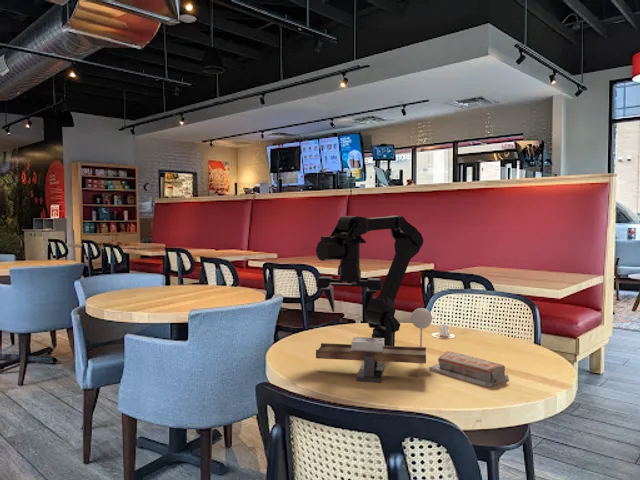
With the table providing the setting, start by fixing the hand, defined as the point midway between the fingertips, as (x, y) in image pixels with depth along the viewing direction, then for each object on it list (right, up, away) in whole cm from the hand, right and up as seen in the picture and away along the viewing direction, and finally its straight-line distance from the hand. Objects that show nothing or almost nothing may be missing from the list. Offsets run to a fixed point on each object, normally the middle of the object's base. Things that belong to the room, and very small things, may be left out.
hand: (349, 312), depth 146 cm
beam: (+5, -9, -15) cm, 18 cm away
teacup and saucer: (+37, -13, +27) cm, 48 cm away
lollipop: (+21, -14, -2) cm, 25 cm away
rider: (+4, -8, -15) cm, 18 cm away
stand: (+5, -14, -15) cm, 21 cm away
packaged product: (+31, -15, -14) cm, 37 cm away
